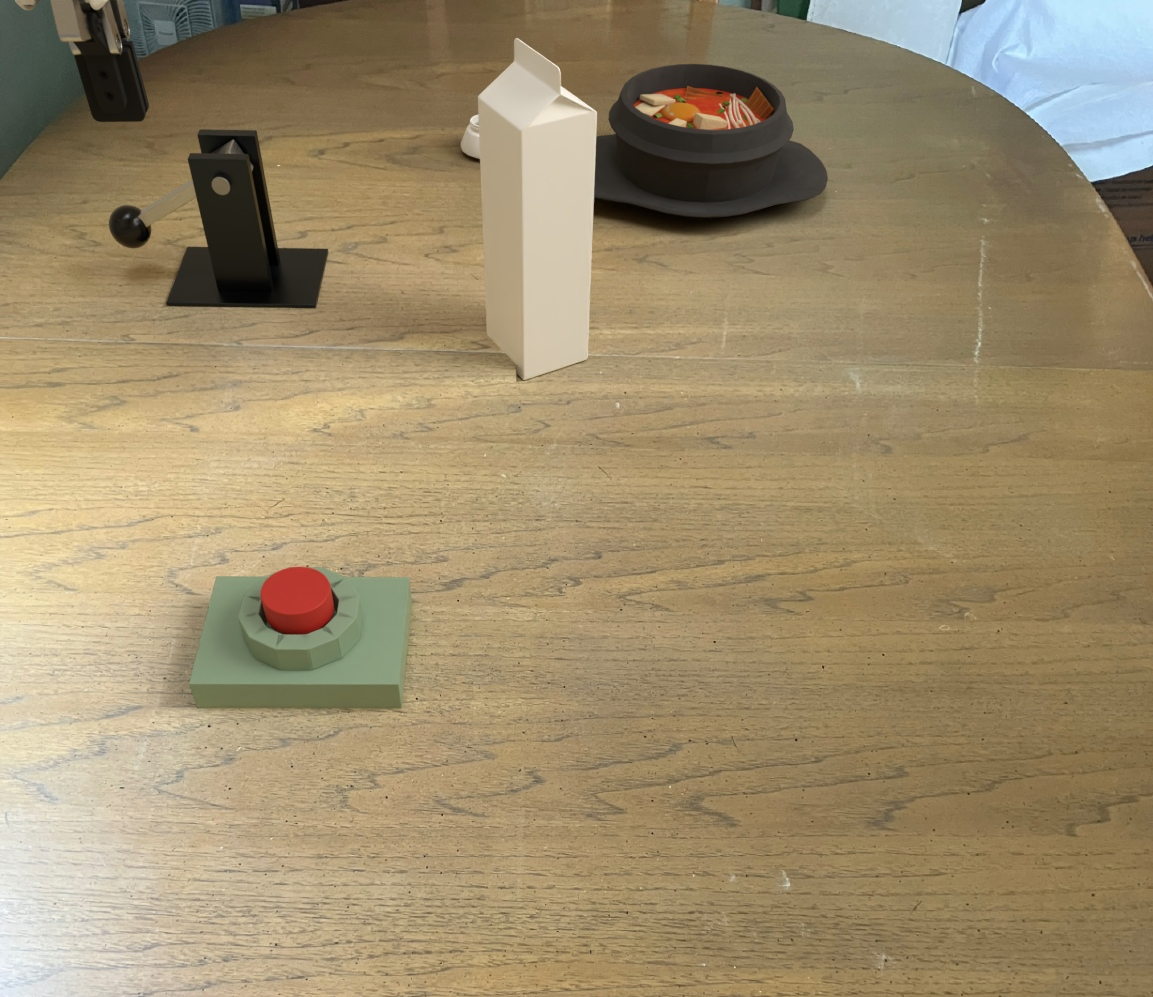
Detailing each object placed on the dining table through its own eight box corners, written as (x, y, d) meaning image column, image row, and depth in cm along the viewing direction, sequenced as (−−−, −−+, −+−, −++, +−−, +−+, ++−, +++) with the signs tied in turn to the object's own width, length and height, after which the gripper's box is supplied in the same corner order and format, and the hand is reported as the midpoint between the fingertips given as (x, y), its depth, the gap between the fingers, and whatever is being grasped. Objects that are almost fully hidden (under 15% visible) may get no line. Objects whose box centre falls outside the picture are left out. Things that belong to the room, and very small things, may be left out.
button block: (197, 708, 68) (180, 662, 64) (223, 601, 73) (209, 554, 70) (402, 709, 68) (395, 663, 65) (412, 602, 74) (406, 555, 71)
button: (260, 635, 66) (255, 614, 65) (270, 587, 69) (265, 565, 68) (330, 635, 67) (326, 614, 65) (337, 587, 69) (334, 566, 68)
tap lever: (125, 262, 93) (95, 228, 91) (134, 242, 95) (105, 209, 93) (252, 187, 89) (224, 149, 86) (258, 168, 91) (231, 130, 88)
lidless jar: (516, 160, 113) (506, 138, 116) (516, 129, 110) (505, 107, 114) (466, 164, 112) (457, 141, 115) (464, 133, 110) (455, 111, 113)
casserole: (806, 145, 117) (822, 55, 110) (840, 238, 105) (860, 143, 98) (560, 142, 115) (561, 51, 109) (566, 236, 104) (568, 140, 97)
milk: (549, 324, 95) (554, 27, 78) (588, 361, 91) (602, 59, 74) (484, 344, 92) (474, 43, 75) (522, 382, 89) (520, 77, 72)
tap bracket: (169, 316, 94) (129, 170, 85) (190, 259, 99) (155, 116, 90) (317, 318, 94) (294, 172, 85) (329, 261, 100) (309, 119, 91)
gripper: (-20, -299, 62) (87, 67, 76) (-109, -231, 53) (32, 172, 67) (120, -297, 63) (201, 66, 77) (57, -230, 53) (162, 171, 67)
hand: (122, 115), depth 72 cm, fingers closed
